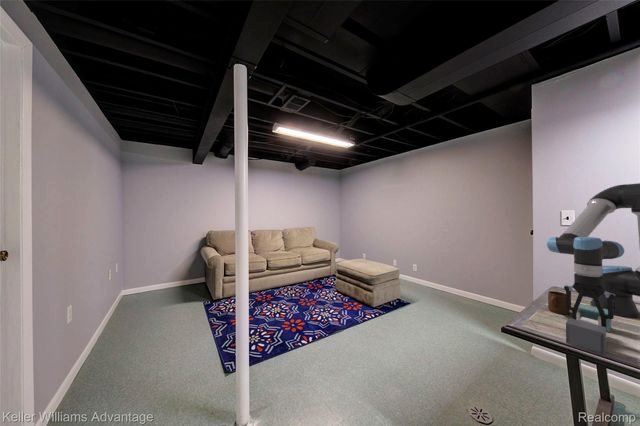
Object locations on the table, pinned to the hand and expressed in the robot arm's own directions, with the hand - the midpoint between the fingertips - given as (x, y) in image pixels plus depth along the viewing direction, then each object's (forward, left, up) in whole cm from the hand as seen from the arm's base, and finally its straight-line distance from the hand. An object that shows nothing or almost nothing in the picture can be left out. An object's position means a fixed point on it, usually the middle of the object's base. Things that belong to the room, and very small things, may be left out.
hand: (589, 330), depth 91 cm
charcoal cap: (+7, +8, -2) cm, 11 cm away
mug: (-5, -23, -3) cm, 24 cm away
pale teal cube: (-10, -11, -2) cm, 15 cm away
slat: (0, 0, -1) cm, 1 cm away
